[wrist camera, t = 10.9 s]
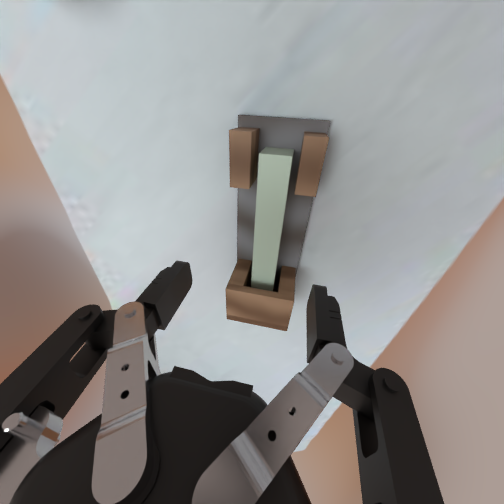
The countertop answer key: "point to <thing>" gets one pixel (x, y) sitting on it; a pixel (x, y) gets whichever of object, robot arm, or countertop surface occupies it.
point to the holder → (295, 218)
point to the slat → (270, 213)
